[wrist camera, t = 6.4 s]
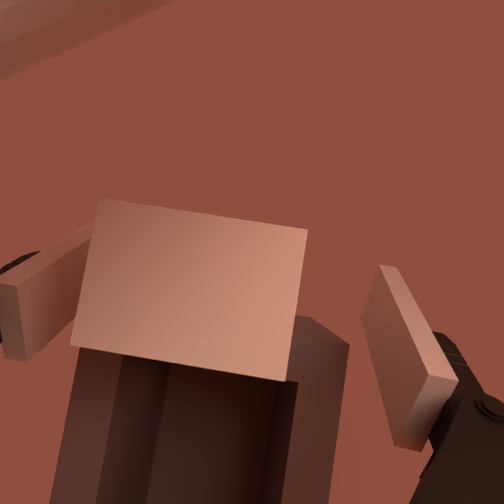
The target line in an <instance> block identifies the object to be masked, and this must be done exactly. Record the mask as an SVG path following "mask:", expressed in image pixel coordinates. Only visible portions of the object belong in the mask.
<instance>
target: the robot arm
mask: <svg viewBox="0 0 504 504" xmlns="http://www.w3.org/2000/svg"><path fill="white" fill-rule="evenodd" d="M175 1H177V0H0V82H1V81H3V80H5V79H8V78H10V77H12V76H14V75H16V74H18V73H21V72H23V71H25V70H27V69H29V68H32V67H34V66H36V65H38V64H40V63H42V62H44V61H47V60H49V59H51V58H53V57H55V56H58V55H60V54H62V53H64V52H66V51H68V50H71V49H73V48H75V47H77V46H79V45H82V44H84V43H86V42H88V41H90V40H92V39H95V38H96V37H99V36H101V35H103V34H105V33H108V32H110V31H112V30H114V29H116V28H118V27H121V26H123V25H125V24H127V23H129V22H131V21H134V20H136V19H138V18H140V17H142V16H144V15H147V14H149V13H151V12H153V11H155V10H158V9H160V8H162V7H164V6H166V5H168V4H170V3H173V2H175ZM94 222H95V220H94V221H92V222H90V223H89V224H87V225H85V226H84V227H82V228H80V229H78V230H77V231H75V232H73V233H72V234H70V235H68V236H66V237H65V238H63V239H61V240H60V241H58V242H56V243H54V244H53V245H51V246H49V247H48V248H46V249H44V250H42V251H36V252H33V253H29V254H26V255H23V256H21V257H19V258H17V259H16V260H14V261H12V263H9V264H7V265H5V266H3V267H2V269H0V343H2V348H3V354H4V358H7V359H12V360H16V361H21V362H25V363H28V362H29V361H30V360H31V359H32V358H33V357H34V356H35V355H36V354H37V353H38V352H39V351H41V350H42V349H43V348H44V347H45V346H46V345H47V343H49V342H50V341H51V340H52V339H53V338H54V337H55V336H56V335H57V334H58V333H59V332H60V331H61V330H62V329H63V328H64V327H65V326H66V325H68V323H70V322H71V321H72V320H73V319H74V318H75V317H76V312H77V307H78V302H79V297H80V292H81V287H82V282H83V277H84V272H85V267H86V262H87V257H88V252H89V247H90V242H91V237H92V232H93V227H94ZM361 320H362V324H363V328H364V331H365V335H366V339H367V343H368V347H369V351H370V354H371V358H372V362H373V366H374V370H375V374H376V378H377V381H378V385H379V389H380V392H381V397H382V401H383V404H384V408H385V412H386V416H387V419H388V424H389V427H390V431H391V435H392V439H393V443H394V446H396V447H400V448H405V449H410V450H414V451H418V452H421V451H422V449H423V447H424V446H425V444H426V442H427V440H428V438H429V440H430V442H431V445H432V448H433V451H434V452H433V454H432V456H431V457H430V459H429V461H428V463H427V465H426V466H425V468H424V470H423V472H422V474H421V476H420V481H419V483H418V486H417V488H416V490H415V492H414V495H413V497H412V499H411V501H410V503H409V504H504V403H502V402H501V401H499V400H498V399H496V398H494V397H492V396H490V395H488V394H485V392H484V391H483V389H482V387H481V386H480V384H479V382H478V381H477V379H476V377H475V376H474V374H473V373H472V371H471V370H470V368H469V367H468V366H467V363H466V361H465V360H464V358H463V357H461V356H462V355H461V353H460V352H459V350H458V348H457V347H456V345H455V344H454V343H453V342H452V341H451V340H450V339H449V338H448V337H447V336H445V335H444V334H443V333H438V332H433V331H431V329H430V327H429V325H428V324H427V322H426V320H425V318H424V316H423V315H422V313H421V311H420V309H419V308H418V306H417V304H416V302H415V300H414V298H413V296H412V295H411V293H410V291H409V289H408V287H407V285H406V284H405V282H404V280H403V278H402V276H401V275H400V273H399V271H398V269H397V268H395V267H390V266H385V265H380V264H379V266H378V268H377V271H376V274H375V277H374V280H373V283H372V286H371V289H370V292H369V295H368V297H367V300H366V304H365V306H364V309H363V312H362V315H361Z"/></svg>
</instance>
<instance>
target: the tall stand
mask: <svg viewBox="0 0 504 504" xmlns="http://www.w3.org/2000/svg"><path fill="white" fill-rule="evenodd" d="M349 345H350V344H348V343H347V342H345V341H344V340H342V339H341V338H339V337H338V336H337V335H335V334H334V333H332V332H331V331H329V330H328V329H327V328H325V327H324V326H322V325H321V324H319V323H318V322H316V321H315V320H314V319H312V318H310V317H304V316H298V315H295V318H294V325H293V332H292V339H291V345H290V352H289V359H288V365H287V372H286V379H285V382H284V381H278V380H272V379H266V378H260V377H254V376H248V375H243V374H237V373H231V372H225V371H219V370H213V369H207V368H201V367H196V366H190V365H184V364H178V363H172V362H166V361H160V360H154V359H149V358H143V357H137V356H131V355H125V354H119V353H113V352H108V351H102V350H96V349H90V348H84V347H80V350H79V355H78V361H77V366H76V371H75V376H74V381H73V387H72V392H71V396H70V401H69V406H68V412H67V417H66V422H65V427H64V432H63V437H62V442H61V447H60V452H59V457H58V463H57V468H56V473H55V478H54V483H53V488H52V493H51V498H50V504H328V500H329V492H330V485H331V478H332V470H333V463H334V456H335V448H336V441H337V433H338V426H339V419H340V411H341V404H342V396H343V390H344V382H345V375H346V367H347V360H348V353H349Z"/></svg>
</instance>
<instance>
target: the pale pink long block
mask: <svg viewBox="0 0 504 504" xmlns="http://www.w3.org/2000/svg"><path fill="white" fill-rule="evenodd" d="M307 231H308V230H306V229H300V228H293V227H287V226H280V225H274V224H268V223H261V222H255V221H248V220H241V219H235V218H229V217H222V216H216V215H210V214H203V213H197V212H190V211H183V210H177V209H171V208H164V207H158V206H152V205H145V204H139V203H132V202H126V201H119V200H113V199H106V198H99V202H98V207H97V212H96V217H95V222H94V227H93V232H92V237H91V242H90V247H89V252H88V257H87V262H86V267H85V272H84V277H83V282H82V287H81V292H80V297H79V302H78V307H77V312H76V317H75V322H74V328H73V333H72V338H71V343H70V345H72V346H78V347H84V348H90V349H96V350H102V351H108V352H113V353H119V354H125V355H131V356H137V357H143V358H149V359H154V360H160V361H166V362H172V363H178V364H184V365H190V366H196V367H201V368H207V369H213V370H219V371H225V372H231V373H237V374H243V375H248V376H254V377H260V378H266V379H272V380H278V381H284V382H285V379H286V372H287V365H288V359H289V352H290V345H291V339H292V332H293V325H294V318H295V311H296V305H297V298H298V292H299V285H300V278H301V271H302V265H303V258H304V251H305V245H306V238H307Z"/></svg>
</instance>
